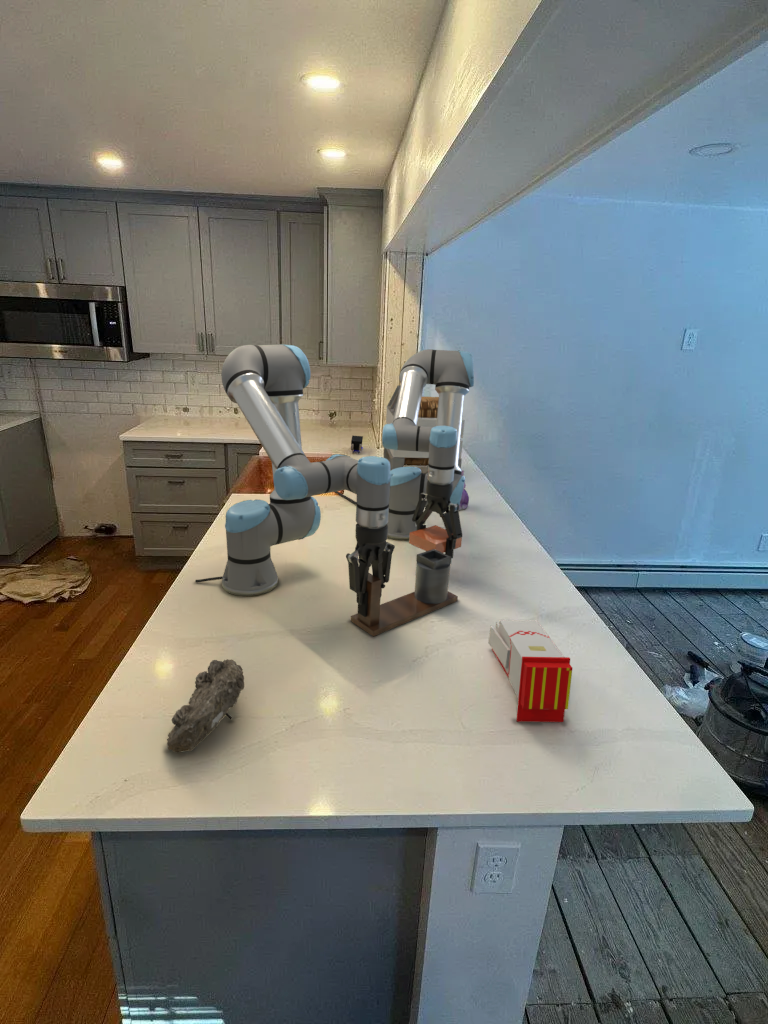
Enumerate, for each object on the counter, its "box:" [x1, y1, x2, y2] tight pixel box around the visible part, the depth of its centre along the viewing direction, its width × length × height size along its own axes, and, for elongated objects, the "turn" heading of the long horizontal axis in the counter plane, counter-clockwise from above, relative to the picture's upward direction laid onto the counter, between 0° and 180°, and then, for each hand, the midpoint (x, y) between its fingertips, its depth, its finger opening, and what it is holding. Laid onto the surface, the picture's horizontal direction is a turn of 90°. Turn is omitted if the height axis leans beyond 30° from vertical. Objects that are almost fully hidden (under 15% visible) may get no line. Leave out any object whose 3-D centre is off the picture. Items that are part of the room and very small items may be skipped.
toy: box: [488, 619, 573, 723], centre depth 122 cm, size 12×13×30 cm
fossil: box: [166, 658, 245, 754], centre depth 106 cm, size 22×10×15 cm
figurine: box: [459, 469, 470, 511], centre depth 227 cm, size 9×10×15 cm
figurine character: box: [350, 435, 364, 454], centre depth 309 cm, size 7×8×15 cm
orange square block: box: [408, 524, 463, 554], centre depth 168 cm, size 11×11×5 cm
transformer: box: [383, 384, 465, 471], centre depth 268 cm, size 34×33×41 cm
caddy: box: [350, 549, 459, 637], centre depth 147 cm, size 30×9×14 cm, turn 131°
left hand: (368, 612), depth 140 cm, fingers closed on caddy, 3 cm apart
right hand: (434, 552), depth 169 cm, fingers closed on orange square block, 11 cm apart
